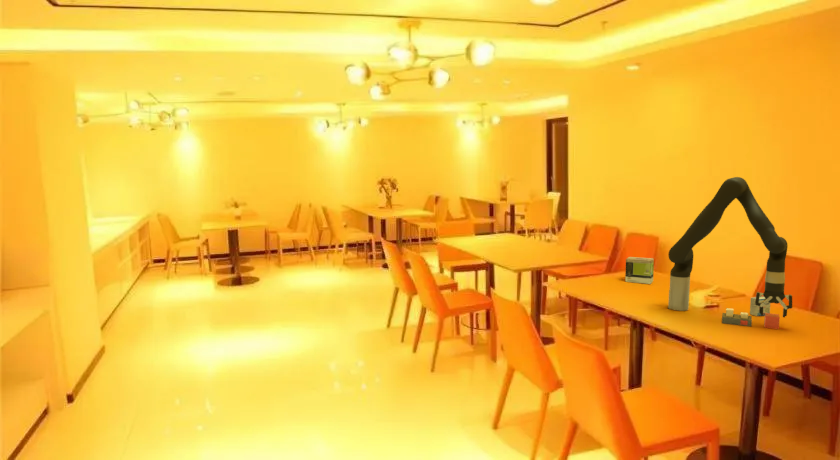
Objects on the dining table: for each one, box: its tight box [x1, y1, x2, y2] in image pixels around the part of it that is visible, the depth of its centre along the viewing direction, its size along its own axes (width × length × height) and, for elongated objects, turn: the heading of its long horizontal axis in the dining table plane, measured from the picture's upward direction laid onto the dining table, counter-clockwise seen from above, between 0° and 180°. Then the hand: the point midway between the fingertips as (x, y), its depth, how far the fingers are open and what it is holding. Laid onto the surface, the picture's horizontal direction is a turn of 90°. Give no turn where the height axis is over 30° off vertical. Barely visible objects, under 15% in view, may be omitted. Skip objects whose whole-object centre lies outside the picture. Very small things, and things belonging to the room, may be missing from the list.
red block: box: [763, 312, 780, 330], centre depth 257 cm, size 5×5×6 cm
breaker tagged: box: [739, 311, 749, 319], centre depth 263 cm, size 3×3×4 cm
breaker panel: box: [721, 312, 753, 327], centre depth 264 cm, size 12×8×3 cm
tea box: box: [624, 256, 655, 285], centre depth 350 cm, size 15×10×15 cm
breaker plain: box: [725, 307, 734, 317], centre depth 265 cm, size 3×3×4 cm
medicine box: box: [749, 295, 771, 317], centre depth 276 cm, size 8×4×9 cm, turn 105°
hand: (772, 315), depth 257 cm, fingers open, 8 cm apart
